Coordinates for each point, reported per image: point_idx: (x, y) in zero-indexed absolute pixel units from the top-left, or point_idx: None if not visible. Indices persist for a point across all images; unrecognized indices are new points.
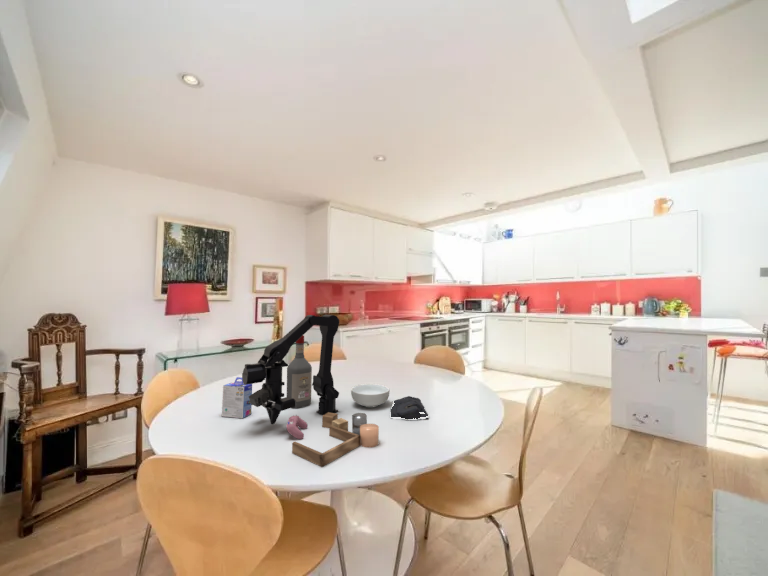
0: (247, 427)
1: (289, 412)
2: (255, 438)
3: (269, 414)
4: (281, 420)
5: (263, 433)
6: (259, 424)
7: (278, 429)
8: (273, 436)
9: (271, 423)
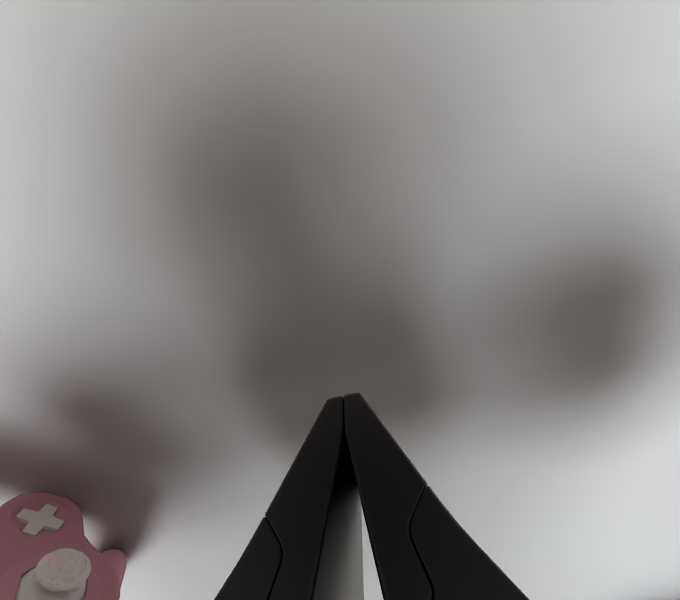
0: (598, 92)
1: (575, 573)
2: (31, 42)
3: (373, 508)
4: (451, 486)
5: (189, 223)
6: (547, 282)
7: (221, 401)
8: (15, 296)
9: (344, 397)
